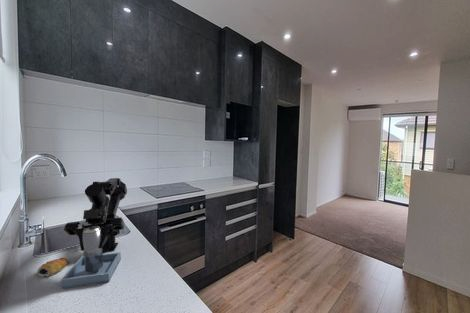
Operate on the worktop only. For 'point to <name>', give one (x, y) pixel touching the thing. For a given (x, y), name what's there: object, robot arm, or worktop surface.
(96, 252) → the canister
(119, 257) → the bin
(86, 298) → the worktop surface
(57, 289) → the worktop surface
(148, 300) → the worktop surface
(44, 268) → the pastry
